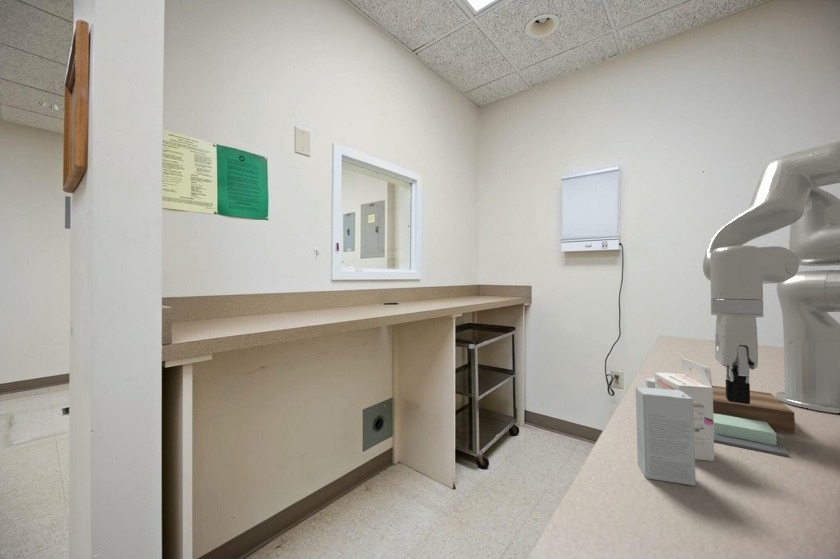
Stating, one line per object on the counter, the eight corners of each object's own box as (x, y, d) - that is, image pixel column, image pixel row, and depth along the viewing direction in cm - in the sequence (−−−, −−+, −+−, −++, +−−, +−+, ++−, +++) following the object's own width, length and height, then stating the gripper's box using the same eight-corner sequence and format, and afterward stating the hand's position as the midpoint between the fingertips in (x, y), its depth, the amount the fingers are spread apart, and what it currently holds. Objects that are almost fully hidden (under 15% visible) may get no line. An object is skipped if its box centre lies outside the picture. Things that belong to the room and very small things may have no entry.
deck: (679, 397, 82) (679, 381, 82) (770, 411, 73) (770, 393, 73) (685, 415, 71) (685, 396, 71) (794, 434, 62) (794, 412, 62)
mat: (680, 415, 70) (680, 413, 70) (766, 430, 63) (766, 428, 63) (686, 436, 61) (686, 434, 61) (789, 457, 53) (789, 454, 53)
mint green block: (714, 422, 61) (714, 433, 61) (776, 433, 56) (776, 445, 56) (709, 412, 66) (709, 422, 66) (766, 422, 61) (766, 433, 61)
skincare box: (683, 471, 49) (681, 389, 49) (696, 487, 45) (695, 398, 45) (635, 463, 51) (634, 385, 51) (644, 478, 47) (643, 394, 47)
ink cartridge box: (653, 435, 61) (652, 355, 61) (684, 438, 60) (682, 356, 60) (680, 459, 52) (678, 366, 53) (716, 462, 51) (714, 367, 52)
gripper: (705, 306, 74) (706, 388, 73) (717, 309, 61) (719, 408, 61) (752, 307, 69) (753, 395, 69) (775, 311, 57) (777, 418, 57)
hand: (737, 401), depth 65 cm, fingers closed
